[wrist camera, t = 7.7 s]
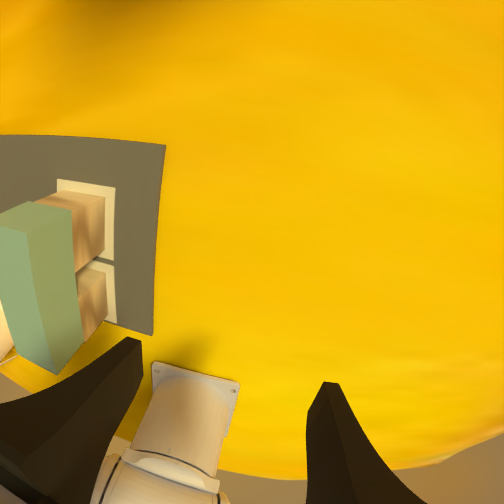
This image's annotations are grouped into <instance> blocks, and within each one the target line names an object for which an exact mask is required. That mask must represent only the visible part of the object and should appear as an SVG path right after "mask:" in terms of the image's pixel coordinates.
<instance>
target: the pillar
mask: <svg viewBox="0 0 504 504" xmlns="http://www.w3.org/2000/svg"><path fill="white" fill-rule="evenodd" d="M35 203H40V204H45V205H50V206H54V207H59V208H64V209H68V210H72V237H73V254H74V267H75V273H76V272H77V271H78V270H79V269H81V268H82V267H83V266H84V265H86V264H87V263H88V262H89V261H91V260H92V259H93V258H94V257H96V256H97V255H98V254H99V253H101V252H102V251H103V250H105V197H102V196H97V195H91V194H86V193H80V192H74V191H68V190H62V191H59V192H57V193H54V194H52V195H49V196H47V197H44V198H42V199H40V200H37V201H35Z"/></svg>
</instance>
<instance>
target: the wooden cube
mask: <svg viewBox="0 0 504 504" xmlns="http://www.w3.org/2000/svg"><path fill="white" fill-rule="evenodd" d="M75 277H76V287H77V295H78V303H79V310H80V316H81V323H82V329H83V334H84V340H85V341H84V343H85V342H86V341H87V340H88V338H89V337H90V336H91V335H92V334H93V332H94V331H95V330H96V329H97V327H98V326H99V325H100V324H101V323H102V321H103V320H104V319H105V318H106V317H107V315H108V303H107V289H106V273H104V272H101V271H98V270H94V269H91V268H87V267H84V266H83V267H82V268H81V269H79V270H78V271H77V272H76V273H75Z"/></svg>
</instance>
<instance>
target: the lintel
mask: <svg viewBox="0 0 504 504" xmlns="http://www.w3.org/2000/svg"><path fill="white" fill-rule="evenodd" d="M0 300H1V304H2V308H3V311H4V315H5V318H6V321H7V325H8V328H9V331H10V334H11V337H12V340H13V343H14V346H15V348H16V351H17V354H19V355H20V356H22V357H24V358H26V359H27V360H29V361H31V362H33V363H35V364H37V365H38V366H40V367H42V368H44V369H46V370H48V371H50V372H52V373H54V374H56V375H58V374H59V373H60V371H61V370H62V369H63V367H64V366H65V365H66V364H67V362H68V361H69V360H70V359H71V357H72V356H73V355H74V353H75V352H76V351H77V350H78V348H79V347H80V346H81V345H82V343H83V342H84V341H85V340H84V334H83V329H82V323H81V316H80V310H79V303H78V295H77V287H76V277H75V267H74V254H73V237H72V210H68V209H64V208H59V207H54V206H50V205H45V204H40V203H35V202H31V201H28V202H25V203H23V204H21V205H18V206H16V207H14V208H12V209H9V210H7V211H5V212H3V213H1V214H0Z"/></svg>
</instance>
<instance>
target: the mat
mask: <svg viewBox="0 0 504 504" xmlns="http://www.w3.org/2000/svg"><path fill="white" fill-rule="evenodd" d="M165 150H166V145H161V144H153V143H145V142H136V141H126V140H116V139H104V138H91V137H76V136H54V135H0V214H1V213H3V212H5V211H7V210H9V209H12V208H14V207H16V206H18V205H21V204H23V203H25V202H28V201H31V202H35V201H37V200H40V199H42V198H44V197H47V196H49V195H52V194H54V193H57V192H59V191H62V190H68V191H74V192H80V193H86V194H91V195H97V196H102V197H105V250H103V251H102V252H101V253H99V254H98V255H97V256H96V257H94V258H93V259H92V260H91V261H89V262H88V263H87V264H86V265H84V267H87V268H91V269H94V270H98V271H101V272H104V273H106V289H107V303H108V315H107V317H106V318H105V319H104V320H103V321H106V322H109V323H112V324H115V325H118V326H121V327H124V328H127V329H130V330H133V331H136V332H140V333H143V334H146V335H150V336H152V335H153V307H154V273H155V253H156V237H157V224H158V212H159V201H160V191H161V182H162V173H163V165H164V157H165Z"/></svg>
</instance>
